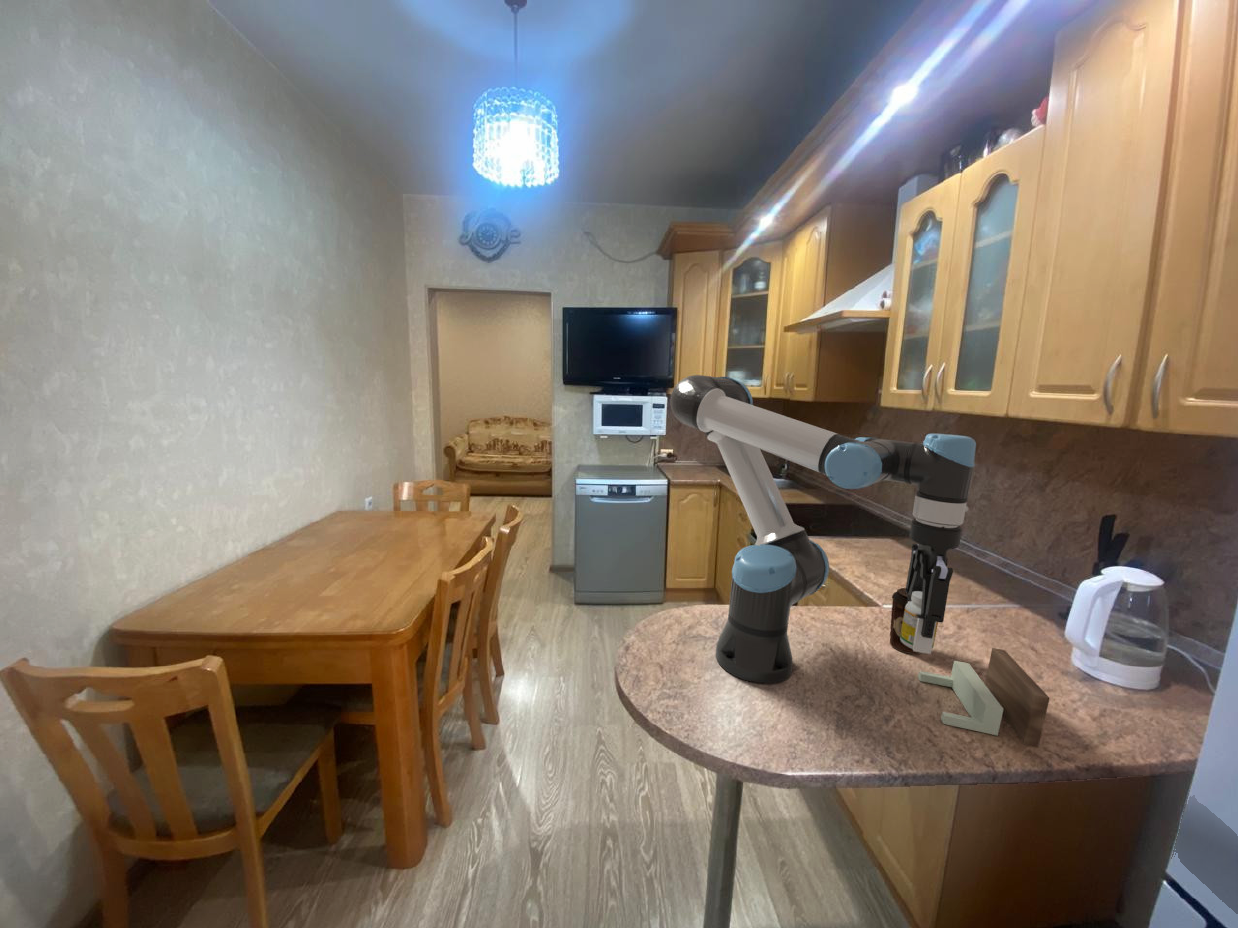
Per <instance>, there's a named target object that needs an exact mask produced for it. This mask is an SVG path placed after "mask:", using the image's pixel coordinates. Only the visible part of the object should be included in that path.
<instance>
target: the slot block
mask: <svg viewBox="0 0 1238 928" xmlns="http://www.w3.org/2000/svg"><path fill="white" fill-rule="evenodd" d="M917 677H918V680H919V681H920V682H924V683H929V684H933V685H939V686H944V687H949V688H952V690H953V691H954V693H955V694H956V696H957V698H958V699H959V701H960V703H961V704H962V705H963V707H964V708H965V711H967V713H968V715H969V716H965V715H960V714H955V713H951V712H947V711H942V713H941V717H940V721H941V722H942V723H943V725H948V726H951V727H956V728H962V729H966V730H971V731H974V732H975V731H976V732H979V733H984V734H988V735H993V736H999V731H1000V726H1001V722H1002V718H1003V716H1002V714H1003V708H1002V706H1001V705H1000V704H999V702H998V701H997V700H996V698H995V697H994V696H993V694H992V693H991V692H990V691H989V689H988V688H987V687H986V685H985V682H984V681H983V680H982V679H981V678H980V676H979V675H978V673H977V672H976V671H975V669H974V668H973V667H972V666H971V664H970V663H969V662H968V663H967V662H965V661H964V662H962V661H957V660H953V665H952V670H951V675H950V676H949V675H943V674H938V673H934V672H928V671H923V670H919V672H918V675H917Z"/></svg>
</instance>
